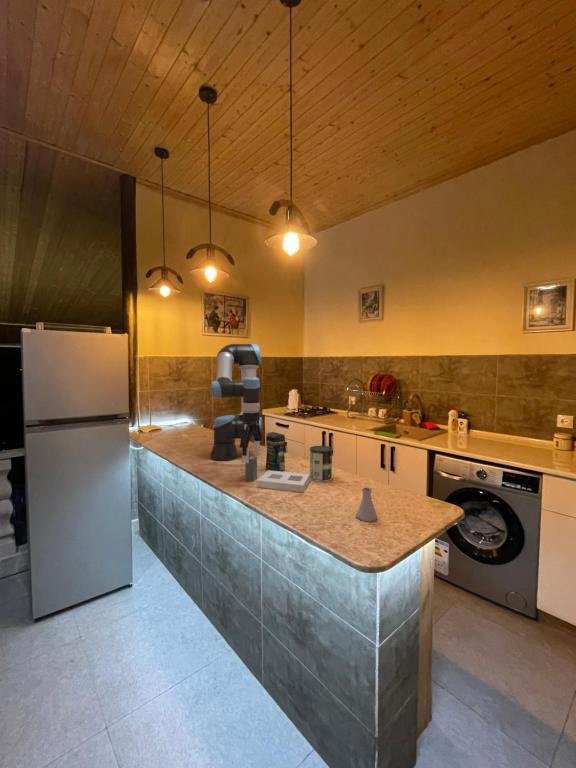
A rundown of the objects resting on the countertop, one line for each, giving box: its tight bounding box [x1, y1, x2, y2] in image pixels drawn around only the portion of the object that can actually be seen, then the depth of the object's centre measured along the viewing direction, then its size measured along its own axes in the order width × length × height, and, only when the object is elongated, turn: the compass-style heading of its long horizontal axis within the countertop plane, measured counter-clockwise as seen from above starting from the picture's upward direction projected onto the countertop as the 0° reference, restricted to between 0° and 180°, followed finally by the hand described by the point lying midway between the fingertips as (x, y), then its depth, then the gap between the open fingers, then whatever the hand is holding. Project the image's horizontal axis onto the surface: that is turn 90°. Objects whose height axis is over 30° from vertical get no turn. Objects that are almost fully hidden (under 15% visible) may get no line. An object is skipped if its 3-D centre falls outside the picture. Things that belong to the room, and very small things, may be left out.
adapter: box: [244, 456, 258, 482], centre depth 149 cm, size 4×4×10 cm
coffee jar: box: [265, 431, 286, 472], centre depth 163 cm, size 10×8×19 cm
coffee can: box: [309, 445, 333, 483], centre depth 151 cm, size 10×10×14 cm
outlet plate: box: [256, 469, 311, 493], centre depth 144 cm, size 14×20×3 cm
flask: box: [355, 486, 378, 523], centre depth 113 cm, size 7×7×10 cm
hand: (251, 458), depth 148 cm, fingers open, 13 cm apart
